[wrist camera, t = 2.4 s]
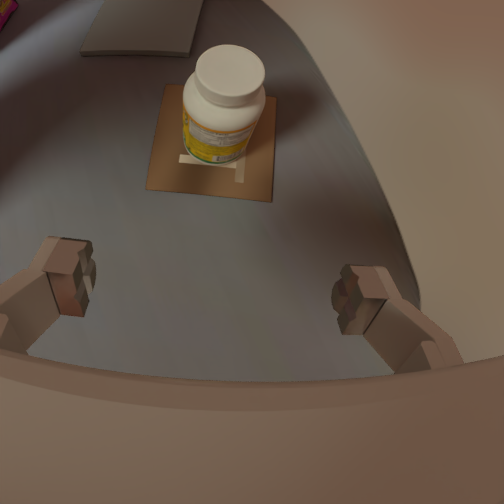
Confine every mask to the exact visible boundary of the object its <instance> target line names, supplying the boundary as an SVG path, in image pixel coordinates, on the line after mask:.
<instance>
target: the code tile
mask: <svg viewBox="0 0 504 504" xmlns="http://www.w3.org/2000/svg"><path fill="white" fill-rule="evenodd" d="M184 86H185V85H176V84H166V86H165V90H164V94H163V98H162V103H161V107H160V112H159V117H158V121H157V126H156V131H155V136H154V142H153V147H152V152H151V158H150V164H149V170H148V176H147V182H146V190H155V191H167V192H178V193H189V194H199V195H209V196H219V197H228V198H237V199H246V200H254V201H263V202H271V195H272V178H273V160H274V141H275V122H276V101H277V98H276V97H271V96H265V105H264V109H263V111H262V113H261V115H260V117H259V120H258V122H257V124H256V126H255V128H254V130H253V133H252V135H251V137H250V139H249V141H248V144H247V146H246V148H245V150H244V152H243V153H242V154H241V155H240V156H239V157H238V158H237V159H236V160H234V161H233V162H231V163H228V164H225V165H219V166H212V165H206V164H203V163H201V162H199V161H197V160H196V159H194V158H193V157H192V156H191V155H190V154H189V153H188V151H187V149H186V147H185V144H184V140H183V91H184Z"/></svg>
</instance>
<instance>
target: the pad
mask: <svg viewBox="0 0 504 504" xmlns="http://www.w3.org/2000/svg"><path fill="white" fill-rule="evenodd" d="M203 1H204V0H105V1H104V3H103V5H102V6H101V8H100V10H99V12H98V14H97V16H96V18H95V20H94V22H93V24H92V26H91V28H90V30H89V32H88V34H87V36H86V38H85V40H84V42H83V45H82V47H81V49H80V51H79V52H80V54H81V56H95V55H155V56H174V57H188V58H189V55H190V51H191V47H192V43H193V39H194V35H195V31H196V27H197V23H198V19H199V16H200V12H201V8H202V5H203Z"/></svg>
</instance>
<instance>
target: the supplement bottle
mask: <svg viewBox="0 0 504 504" xmlns="http://www.w3.org/2000/svg"><path fill="white" fill-rule="evenodd" d="M264 79H265V68H264V65H263V63H262V61H261V60H260V59H259V57H258V56H257V55H255V54H254V53H253V52H252V51H250V50H248V49H246V48H243V47H241V46H236V45H219V46H215V47H212V48H210V49H208V50H207V51H205V52H204V53H203V54H202V55H201V56H200V57H199V59H198V61H197V63H196V69H195V72H193V73H192V75H191V76H190V77H189V78H188V80H187V82H186V84H185V86H184V91H183V140H184V144H185V147H186V149H187V151H188V153H189V154H190V155H191V156H192V157H193V158H194V159H196V160H197V161H199V162H201V163H203V164H206V165H212V166H219V165H225V164H228V163H231V162H233V161H234V160H236V159H237V158H238V157H239V156H240V155H241V154H242V153H243V152H244V150H245V148H246V146H247V144H248V141H249V139H250V137H251V135H252V133H253V130H254V128H255V126H256V124H257V122H258V120H259V117H260V115H261V113H262V111H263V109H264V105H265V90H264V87H263V81H264Z"/></svg>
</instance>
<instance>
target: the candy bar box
mask: <svg viewBox="0 0 504 504" xmlns="http://www.w3.org/2000/svg"><path fill="white" fill-rule="evenodd" d="M17 6H18V3H17V1H16V0H0V32H1V30H2V29H3V27H4V25H5V24H6V22H7V21H8V19H9V18H10V16H11V15H12V14H13V12H14V11H15V9H16V8H17Z"/></svg>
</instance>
